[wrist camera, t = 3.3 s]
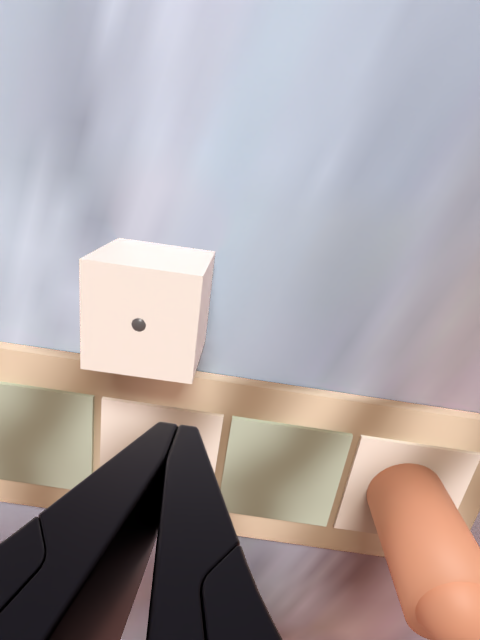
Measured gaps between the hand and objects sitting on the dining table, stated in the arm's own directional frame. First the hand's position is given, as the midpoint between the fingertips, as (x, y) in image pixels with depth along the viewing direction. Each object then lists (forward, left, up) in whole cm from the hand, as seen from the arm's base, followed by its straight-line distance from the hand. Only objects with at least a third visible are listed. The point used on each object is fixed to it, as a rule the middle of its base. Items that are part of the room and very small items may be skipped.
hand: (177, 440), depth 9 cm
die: (+2, 0, -10) cm, 10 cm away
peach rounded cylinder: (-10, +8, -9) cm, 15 cm away
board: (-1, +8, -9) cm, 12 cm away
